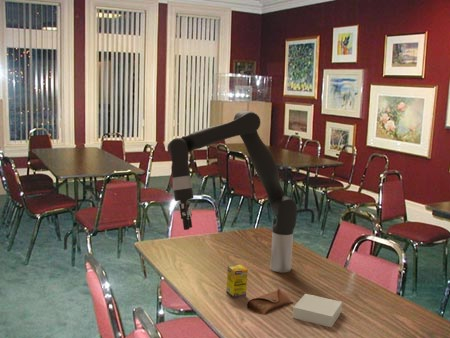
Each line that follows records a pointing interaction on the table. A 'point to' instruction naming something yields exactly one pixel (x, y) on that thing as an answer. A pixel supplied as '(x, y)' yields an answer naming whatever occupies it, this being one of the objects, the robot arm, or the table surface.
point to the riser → (317, 310)
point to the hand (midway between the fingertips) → (188, 228)
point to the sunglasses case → (268, 302)
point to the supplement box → (236, 281)
